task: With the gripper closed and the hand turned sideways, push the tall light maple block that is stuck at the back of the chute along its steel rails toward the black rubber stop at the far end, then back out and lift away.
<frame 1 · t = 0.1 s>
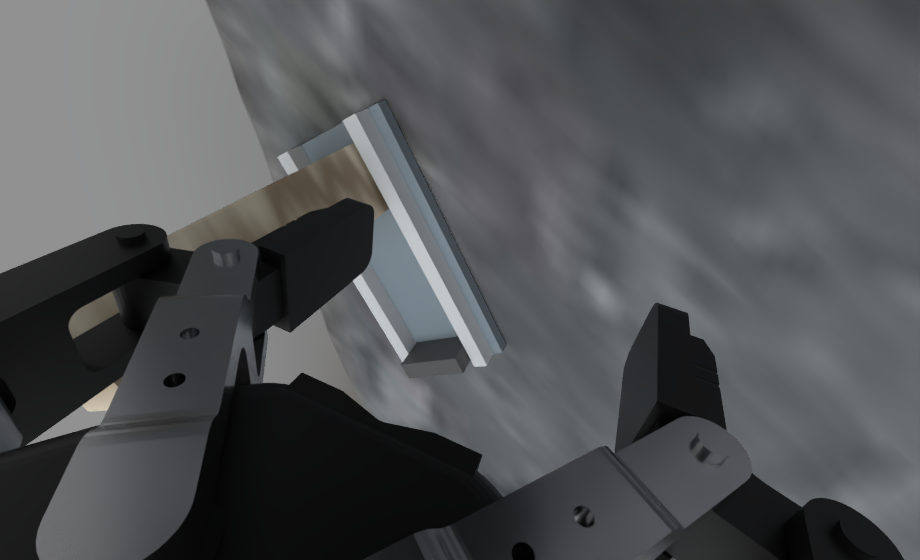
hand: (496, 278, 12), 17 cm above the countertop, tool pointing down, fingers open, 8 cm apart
chute: (402, 251, 36), on the countertop
jammed block: (254, 245, 25), point 11 cm above the countertop, slide at 0.0 cm
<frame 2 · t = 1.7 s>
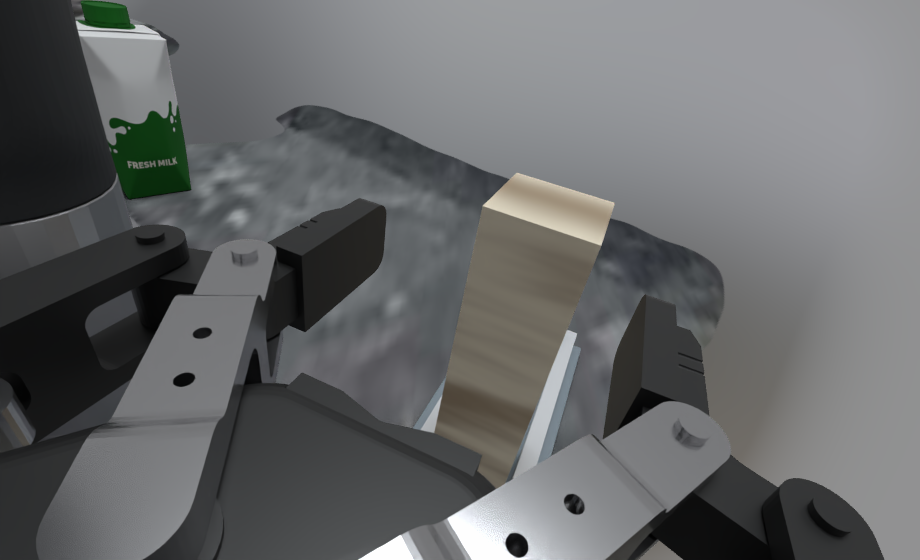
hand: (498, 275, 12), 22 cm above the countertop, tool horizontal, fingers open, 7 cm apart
chute: (498, 408, 37), on the countertop
milk carton: (152, 185, 58), on the countertop
jammed block: (503, 362, 25), point 11 cm above the countertop, slide at 0.0 cm
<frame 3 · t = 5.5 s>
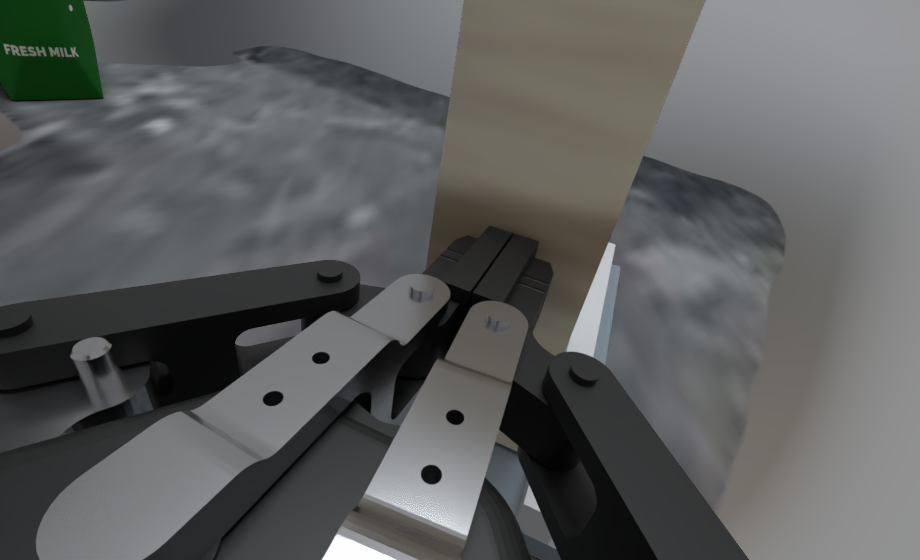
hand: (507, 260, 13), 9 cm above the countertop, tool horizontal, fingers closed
chute: (510, 337, 24), on the countertop
milk carton: (52, 92, 45), on the countertop
jammed block: (544, 167, 14), point 11 cm above the countertop, slide at 1.3 cm, touching gripper
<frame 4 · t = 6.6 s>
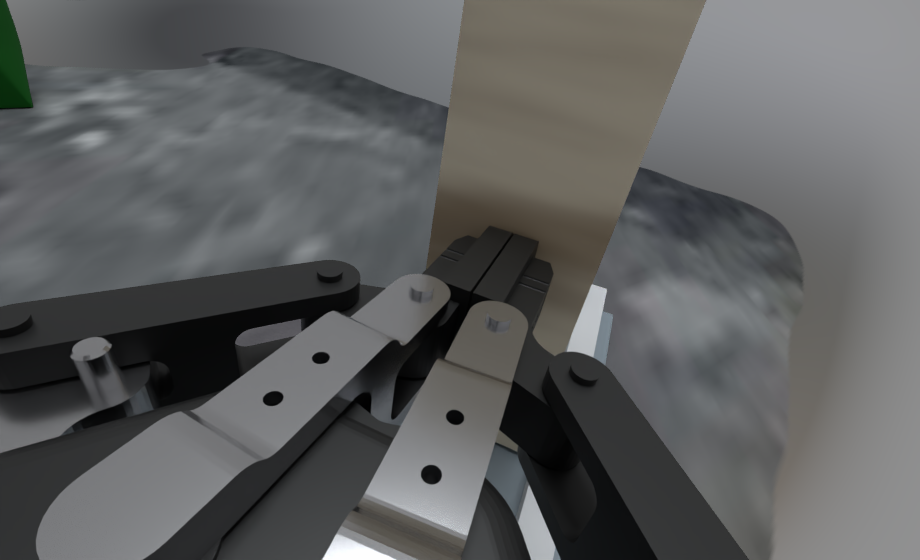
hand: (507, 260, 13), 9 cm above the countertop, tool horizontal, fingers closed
chute: (470, 421, 19), on the countertop
jammed block: (544, 168, 14), point 11 cm above the countertop, slide at 7.6 cm, touching gripper
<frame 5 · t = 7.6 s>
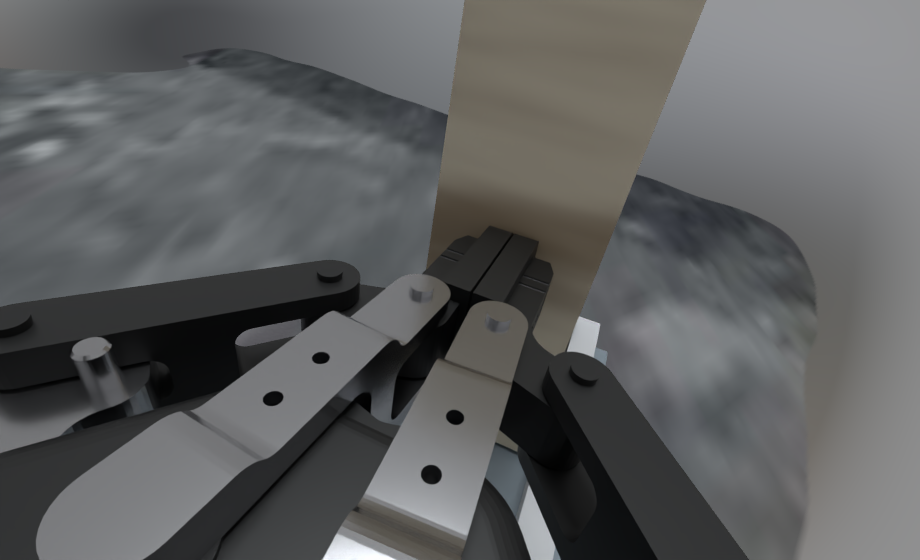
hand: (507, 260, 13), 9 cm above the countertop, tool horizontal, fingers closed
chute: (436, 492, 16), on the countertop
jammed block: (544, 168, 14), point 11 cm above the countertop, slide at 11.2 cm, touching gripper
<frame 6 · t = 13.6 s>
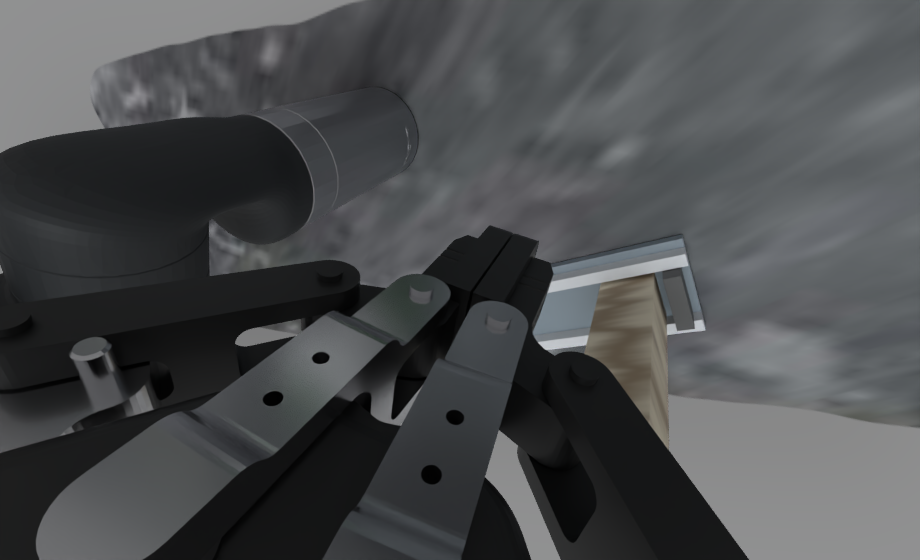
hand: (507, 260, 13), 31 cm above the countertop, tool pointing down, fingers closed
chute: (586, 299, 48), on the countertop
jammed block: (627, 357, 36), point 11 cm above the countertop, slide at 11.5 cm
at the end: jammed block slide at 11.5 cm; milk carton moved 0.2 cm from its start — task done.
